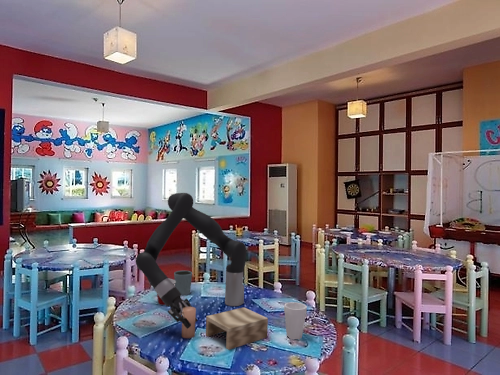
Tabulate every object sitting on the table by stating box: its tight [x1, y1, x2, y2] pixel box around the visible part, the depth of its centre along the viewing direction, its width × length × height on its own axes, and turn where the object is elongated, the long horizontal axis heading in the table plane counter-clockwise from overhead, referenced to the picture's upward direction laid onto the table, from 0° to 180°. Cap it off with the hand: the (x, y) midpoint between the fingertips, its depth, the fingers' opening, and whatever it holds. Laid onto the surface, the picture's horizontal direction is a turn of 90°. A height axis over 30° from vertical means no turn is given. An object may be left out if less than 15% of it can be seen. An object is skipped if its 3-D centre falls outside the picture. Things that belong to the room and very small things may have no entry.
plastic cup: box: [156, 278, 176, 306], centre depth 187 cm, size 11×11×12 cm
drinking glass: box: [173, 270, 193, 297], centre depth 204 cm, size 10×10×12 cm
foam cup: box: [283, 301, 308, 340], centre depth 151 cm, size 10×9×13 cm
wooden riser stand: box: [205, 307, 269, 351], centre depth 149 cm, size 20×16×8 cm
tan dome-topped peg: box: [181, 306, 197, 339], centre depth 148 cm, size 5×5×11 cm
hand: (192, 324), depth 147 cm, fingers closed on tan dome-topped peg, 5 cm apart
